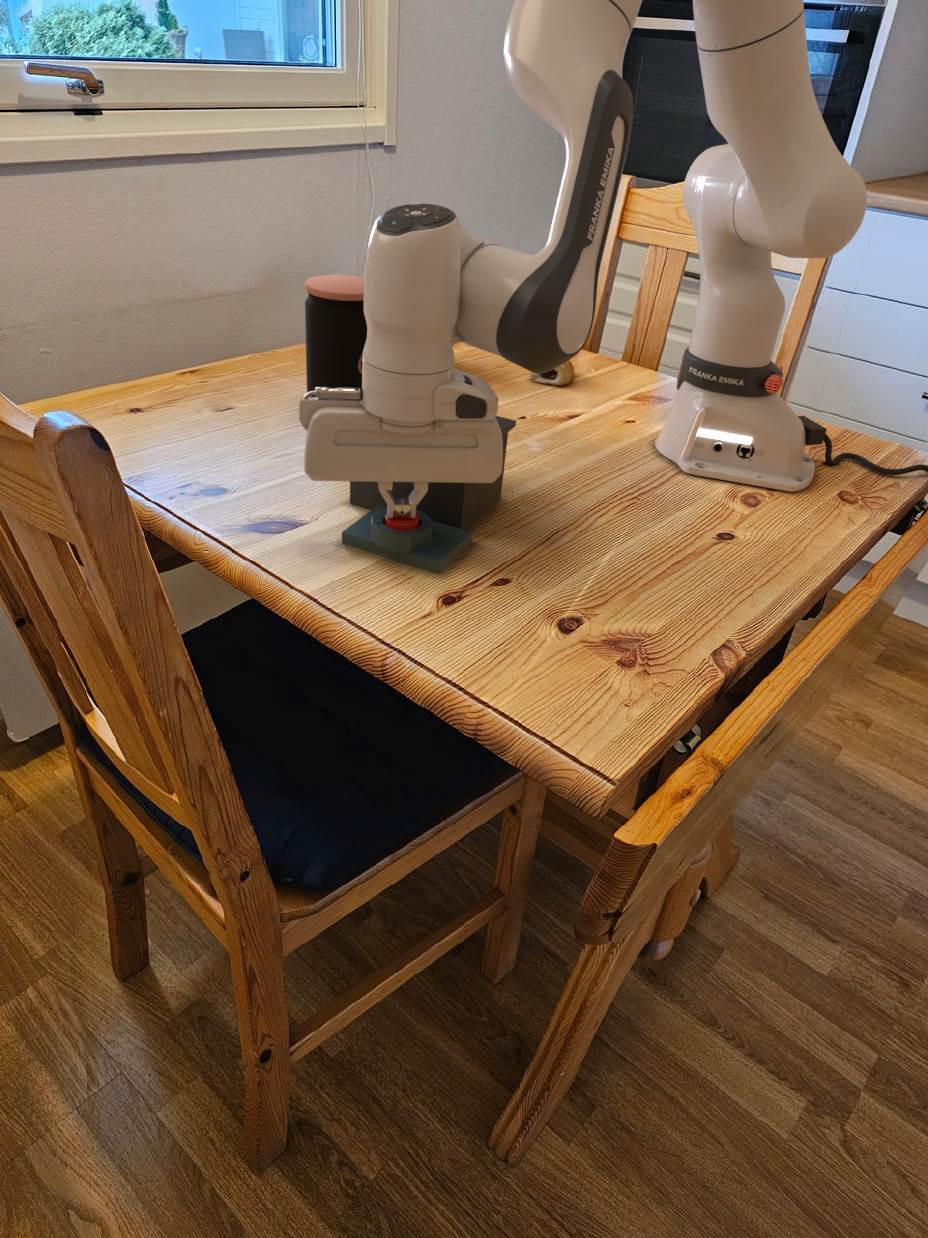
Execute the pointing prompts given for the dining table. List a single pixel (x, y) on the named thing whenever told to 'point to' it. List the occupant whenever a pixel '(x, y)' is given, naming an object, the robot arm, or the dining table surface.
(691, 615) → the dining table surface
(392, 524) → the button
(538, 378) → the pastry
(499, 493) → the dark grey box
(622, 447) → the dining table surface
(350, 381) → the coffee jar
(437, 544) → the control block
